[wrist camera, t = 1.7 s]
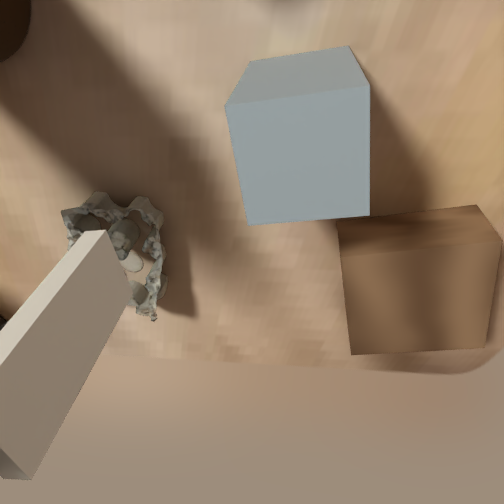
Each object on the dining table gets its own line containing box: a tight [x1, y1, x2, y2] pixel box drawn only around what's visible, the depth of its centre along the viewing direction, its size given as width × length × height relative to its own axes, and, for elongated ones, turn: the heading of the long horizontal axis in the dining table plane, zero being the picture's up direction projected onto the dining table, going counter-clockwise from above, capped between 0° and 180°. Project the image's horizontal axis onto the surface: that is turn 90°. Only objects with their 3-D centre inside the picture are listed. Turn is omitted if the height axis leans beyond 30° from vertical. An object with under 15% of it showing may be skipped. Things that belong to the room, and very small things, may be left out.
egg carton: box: [61, 191, 168, 322], centre depth 33 cm, size 11×8×4 cm
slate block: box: [225, 46, 370, 226], centre depth 22 cm, size 6×6×10 cm
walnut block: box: [337, 205, 502, 355], centre depth 31 cm, size 10×10×5 cm
